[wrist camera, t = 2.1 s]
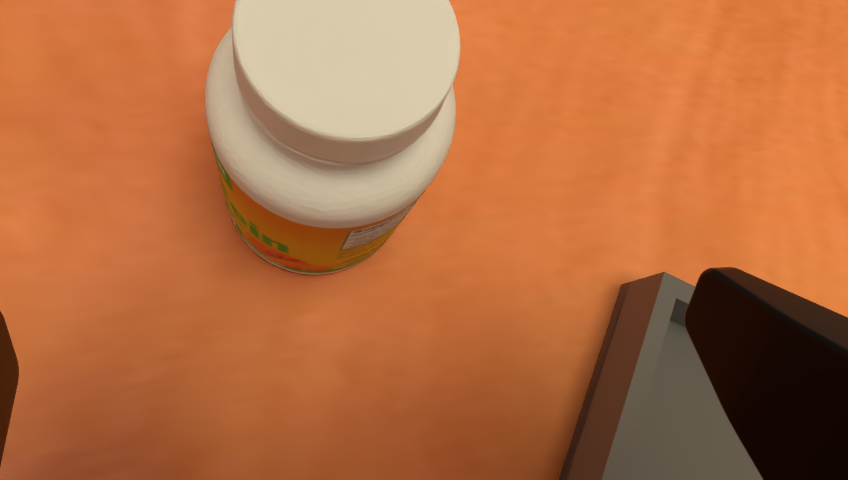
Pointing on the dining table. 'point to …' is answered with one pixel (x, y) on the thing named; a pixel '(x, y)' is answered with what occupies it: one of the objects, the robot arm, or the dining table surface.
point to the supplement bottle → (330, 122)
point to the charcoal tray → (653, 399)
